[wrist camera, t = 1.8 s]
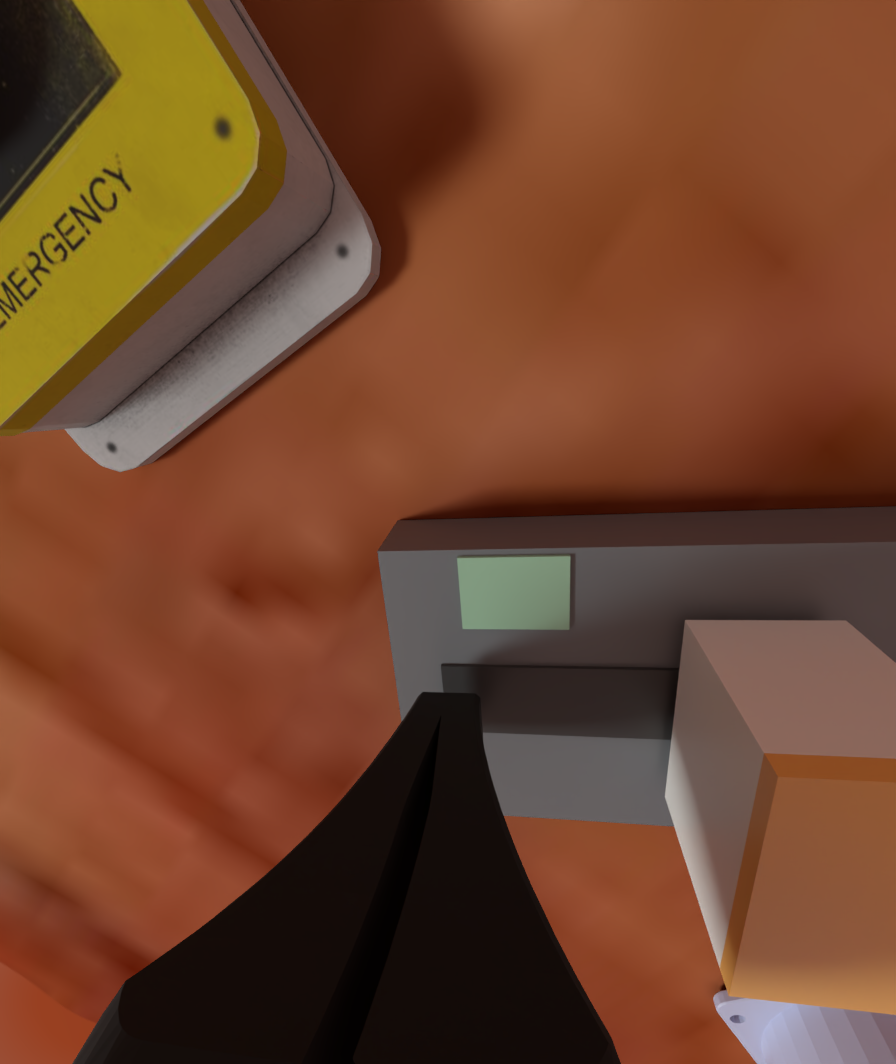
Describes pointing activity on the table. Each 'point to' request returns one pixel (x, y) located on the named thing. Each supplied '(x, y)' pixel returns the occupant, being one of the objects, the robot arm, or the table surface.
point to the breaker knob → (790, 807)
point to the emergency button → (158, 220)
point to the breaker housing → (609, 630)
